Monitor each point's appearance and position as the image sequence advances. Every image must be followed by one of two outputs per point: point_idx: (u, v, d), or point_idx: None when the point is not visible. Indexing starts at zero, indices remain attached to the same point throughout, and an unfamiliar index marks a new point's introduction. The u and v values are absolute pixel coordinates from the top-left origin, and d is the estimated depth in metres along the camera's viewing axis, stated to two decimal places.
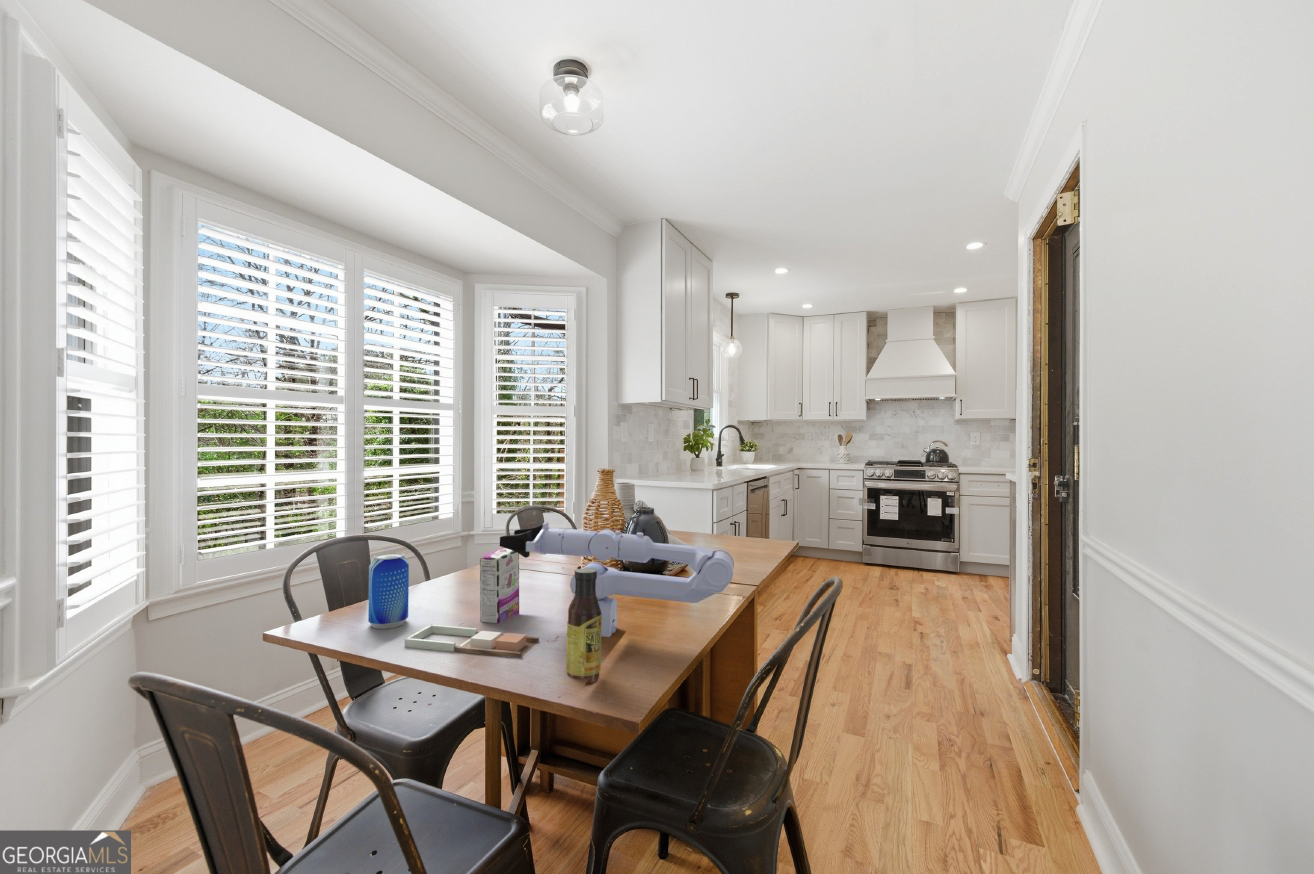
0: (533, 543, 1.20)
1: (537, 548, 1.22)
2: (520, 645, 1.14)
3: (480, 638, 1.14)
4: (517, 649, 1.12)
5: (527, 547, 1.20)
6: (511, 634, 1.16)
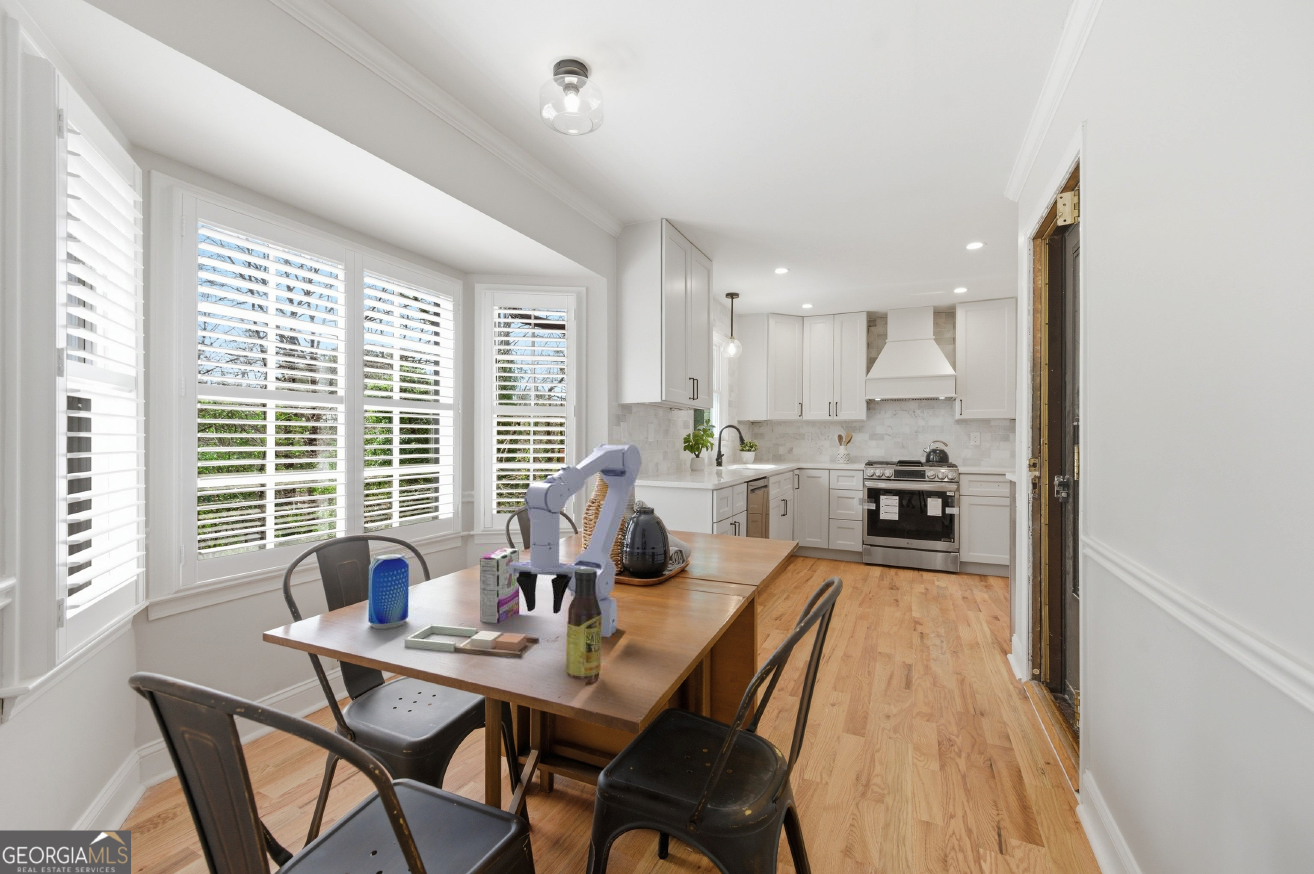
0: None
1: None
2: (520, 645, 1.14)
3: (480, 638, 1.14)
4: (517, 649, 1.12)
5: None
6: (511, 634, 1.16)
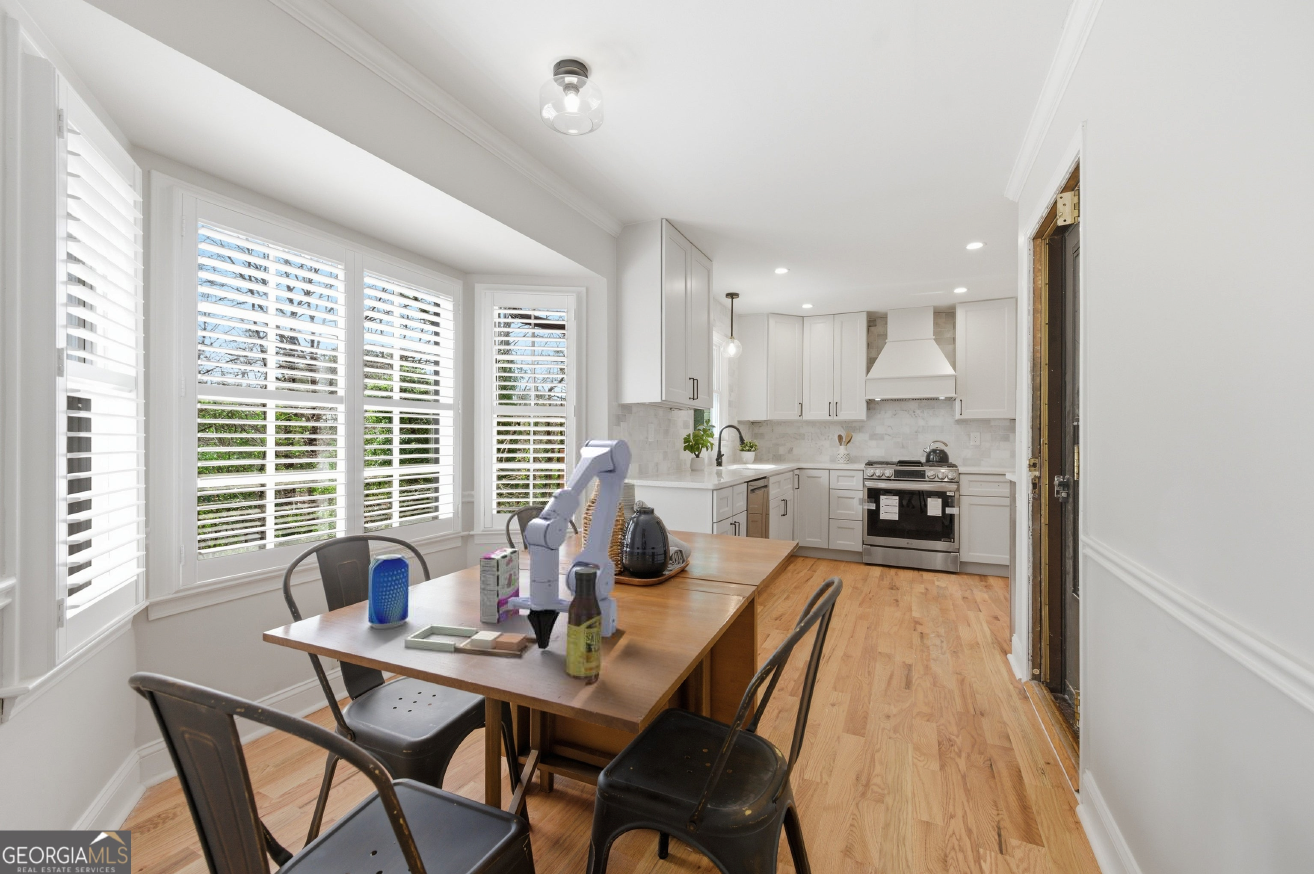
0: None
1: (568, 602, 1.13)
2: (520, 645, 1.14)
3: (480, 638, 1.14)
4: (517, 649, 1.12)
5: None
6: (511, 634, 1.16)
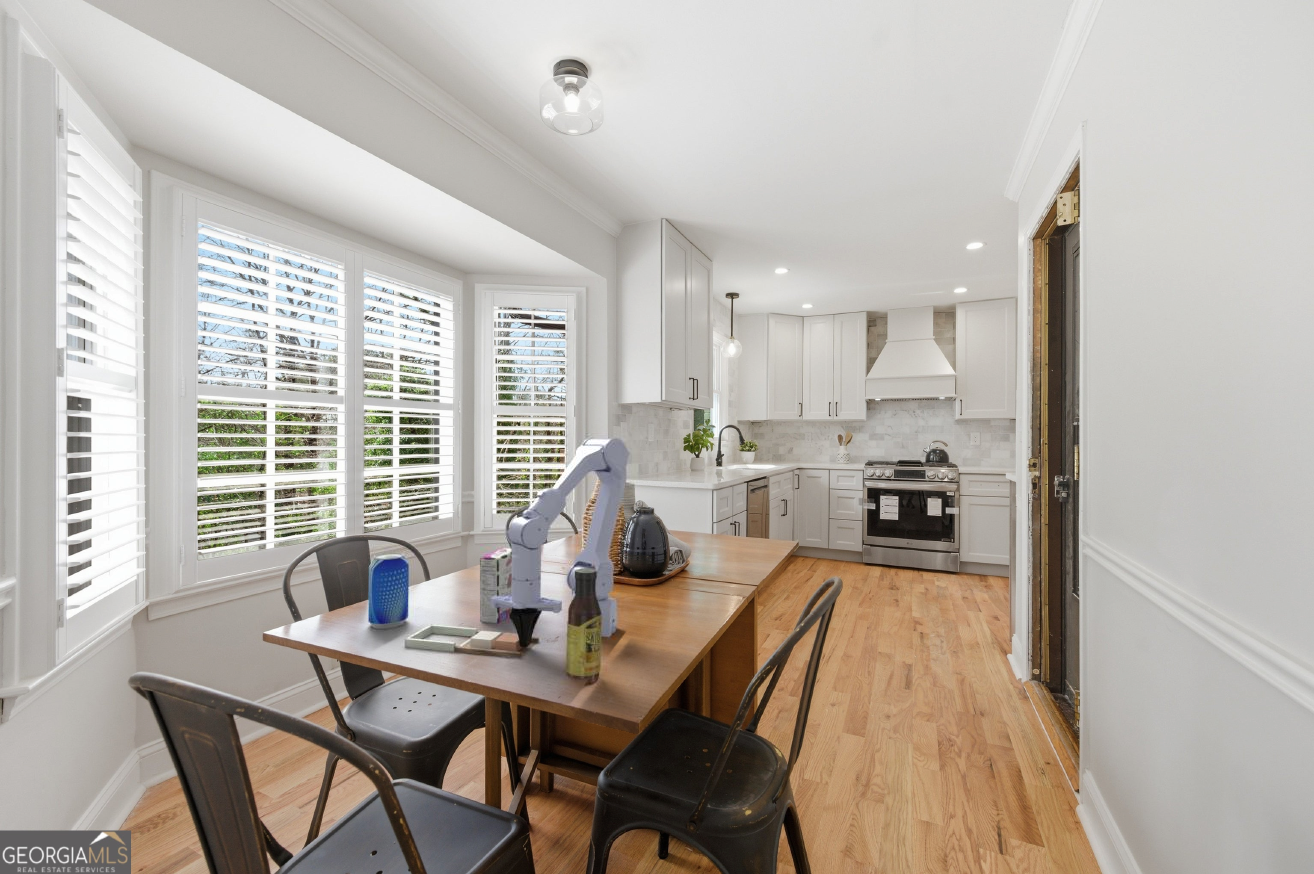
0: (558, 604, 1.12)
1: (550, 601, 1.14)
2: (519, 645, 1.14)
3: (480, 638, 1.14)
4: (516, 649, 1.12)
5: (560, 609, 1.13)
6: (511, 634, 1.16)
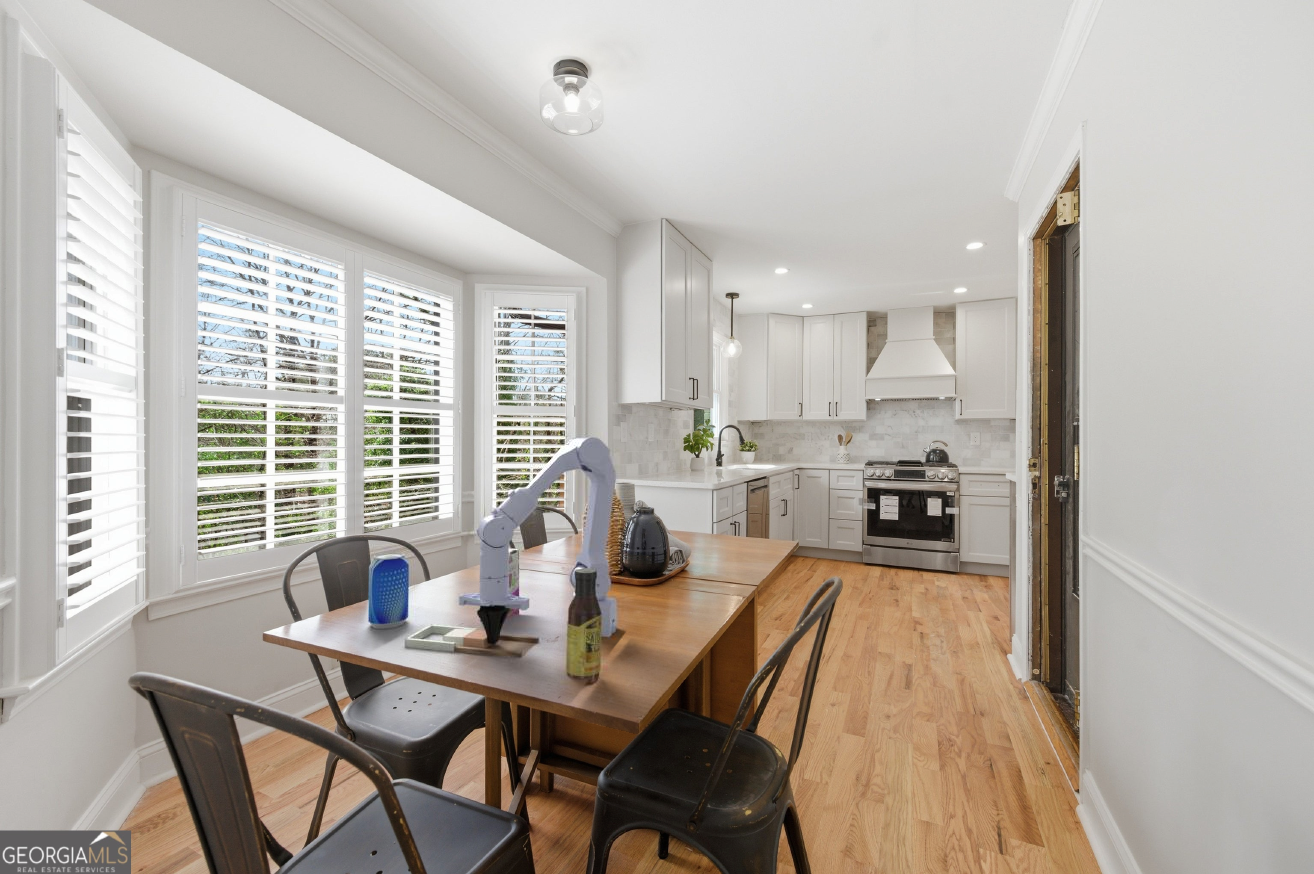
0: (525, 601, 1.13)
1: (517, 598, 1.15)
2: (487, 642, 1.15)
3: (452, 636, 1.15)
4: (484, 646, 1.14)
5: (527, 606, 1.14)
6: (480, 631, 1.18)
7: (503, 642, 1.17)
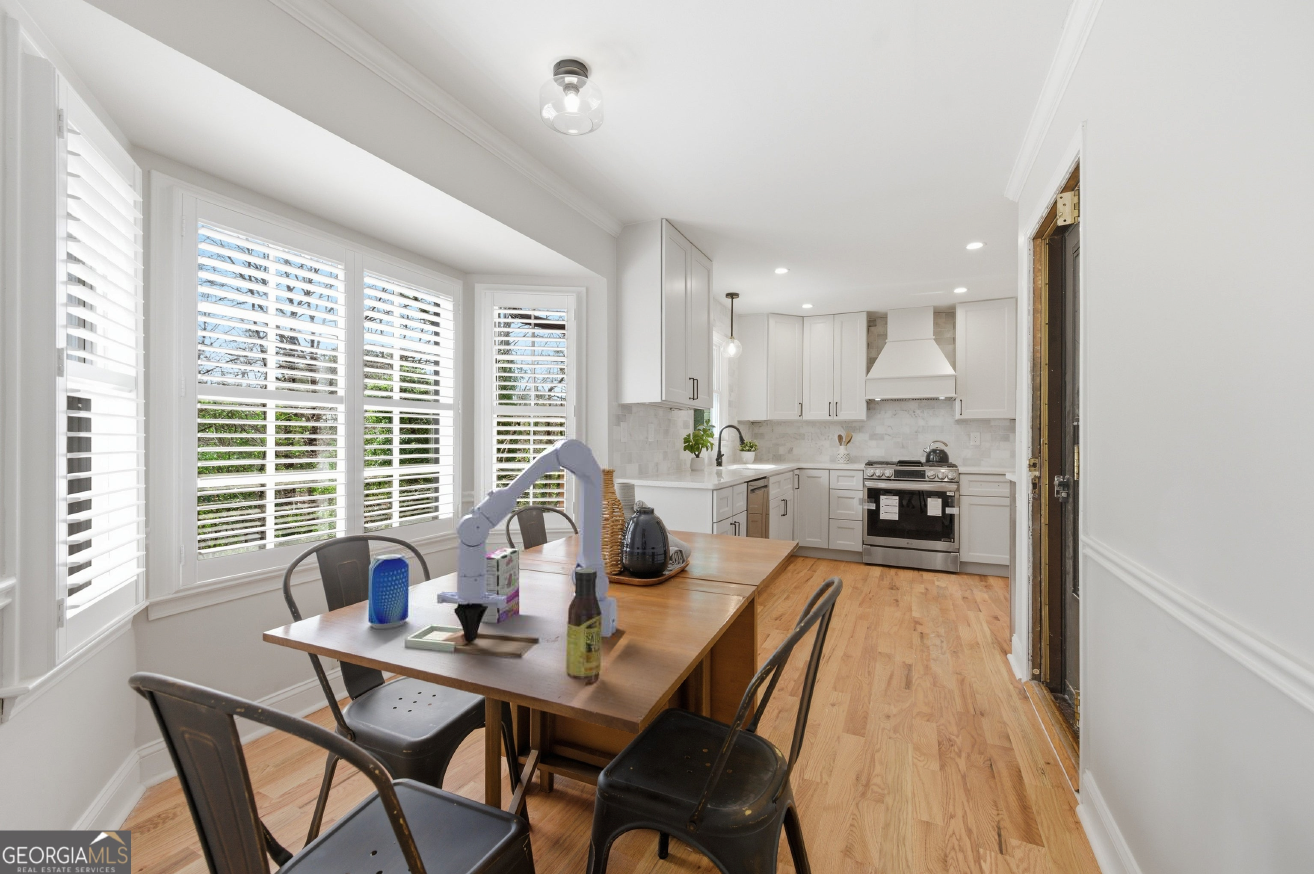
0: (502, 599, 1.14)
1: (495, 596, 1.16)
2: None
3: (431, 639, 1.16)
4: (463, 642, 1.15)
5: (504, 605, 1.15)
6: (457, 632, 1.19)
7: (503, 642, 1.17)
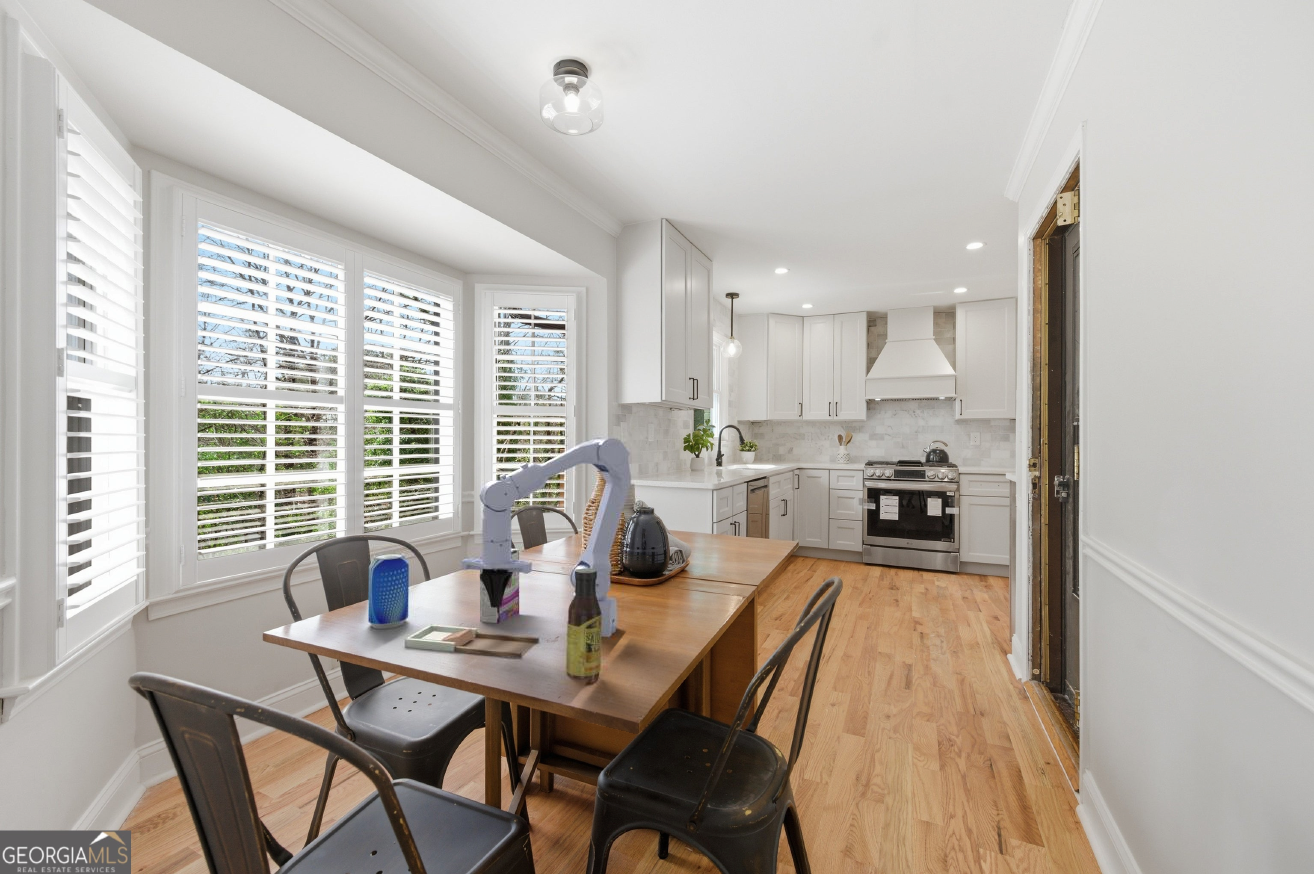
0: (528, 565, 1.14)
1: None
2: (465, 638, 1.16)
3: (429, 639, 1.16)
4: (462, 642, 1.15)
5: (530, 570, 1.15)
6: (457, 633, 1.19)
7: (503, 642, 1.17)
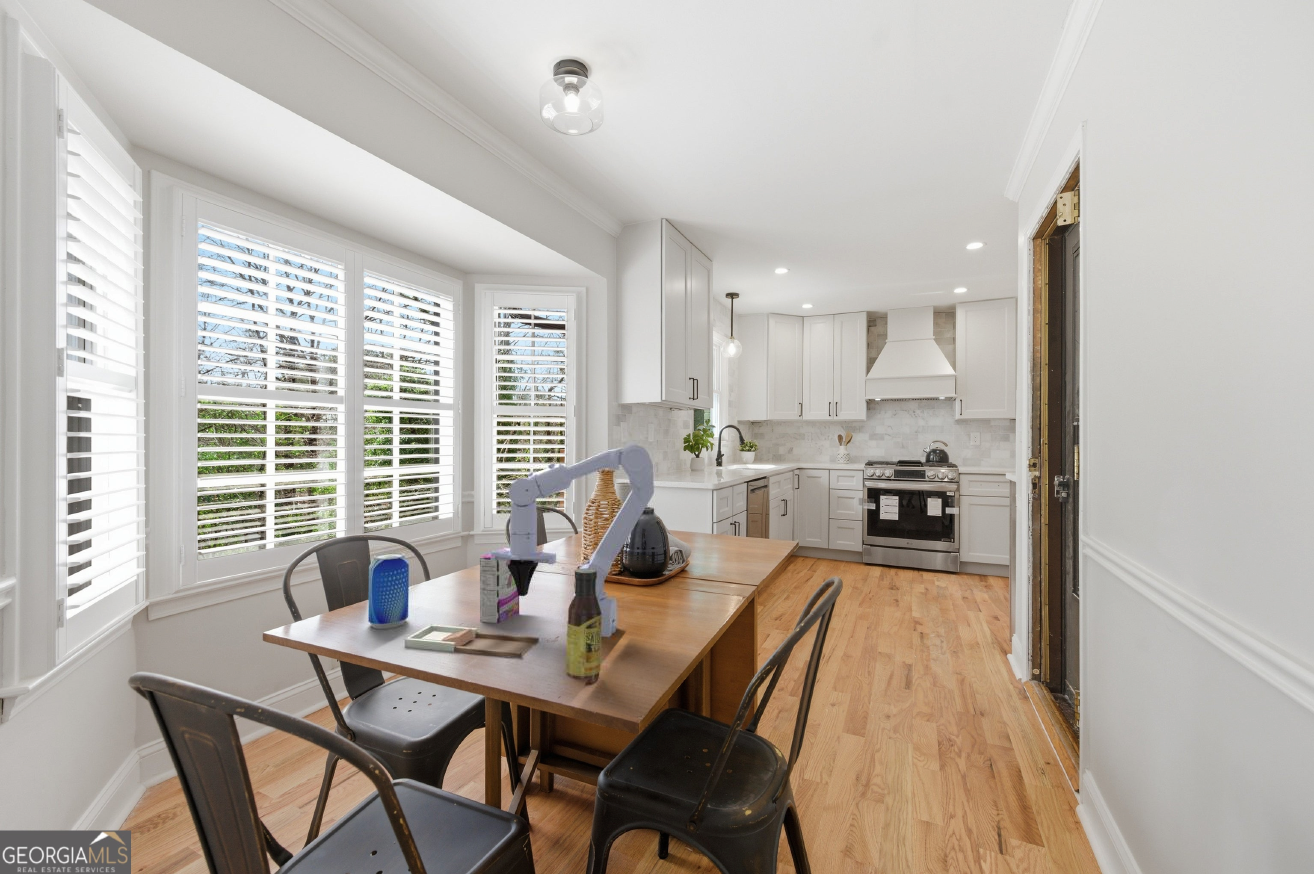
0: (553, 556, 1.22)
1: (545, 554, 1.24)
2: (465, 638, 1.16)
3: (429, 639, 1.16)
4: (462, 642, 1.15)
5: (554, 561, 1.23)
6: (457, 633, 1.19)
7: (503, 642, 1.17)
